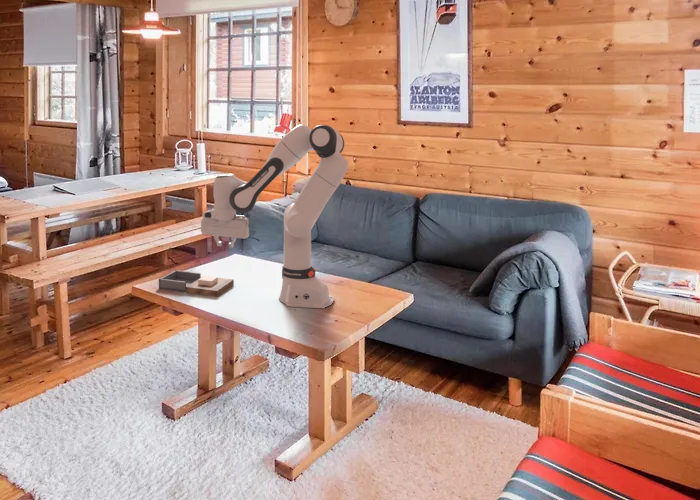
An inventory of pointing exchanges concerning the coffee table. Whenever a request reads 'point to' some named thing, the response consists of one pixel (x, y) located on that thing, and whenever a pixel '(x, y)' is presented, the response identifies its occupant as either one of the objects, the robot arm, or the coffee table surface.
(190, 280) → the box
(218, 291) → the board
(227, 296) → the coffee table surface
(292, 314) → the coffee table surface
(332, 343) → the coffee table surface
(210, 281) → the tile
